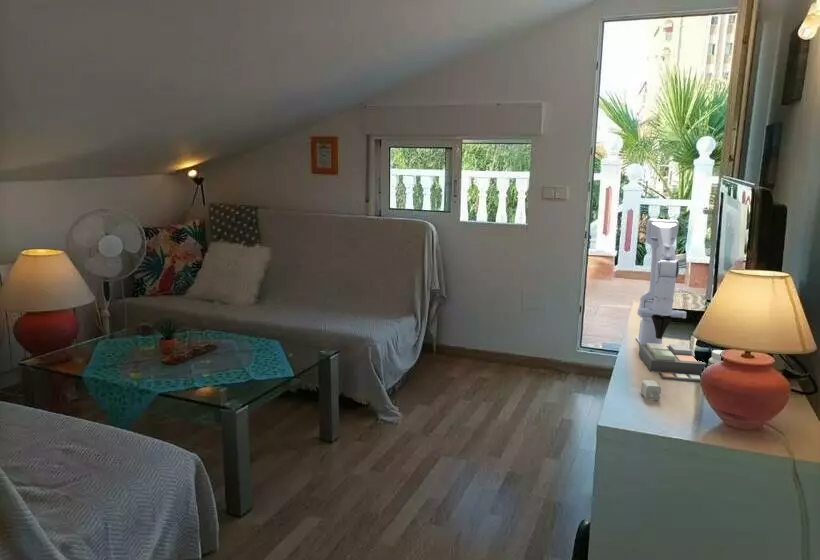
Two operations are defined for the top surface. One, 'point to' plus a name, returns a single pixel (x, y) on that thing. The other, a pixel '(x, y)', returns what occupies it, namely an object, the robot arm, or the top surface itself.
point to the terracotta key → (686, 358)
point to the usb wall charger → (650, 389)
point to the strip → (680, 377)
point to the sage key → (663, 355)
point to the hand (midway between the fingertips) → (658, 338)
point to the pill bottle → (715, 357)
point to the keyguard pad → (670, 363)
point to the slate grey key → (679, 349)
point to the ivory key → (656, 347)
